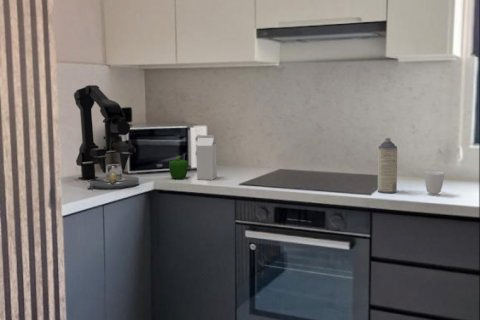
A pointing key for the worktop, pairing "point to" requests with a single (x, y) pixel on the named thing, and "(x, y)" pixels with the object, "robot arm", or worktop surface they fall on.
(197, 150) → the milk carton
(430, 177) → the cup
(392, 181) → the aerosol can
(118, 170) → the cover
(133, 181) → the turntable
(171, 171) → the bell pepper
